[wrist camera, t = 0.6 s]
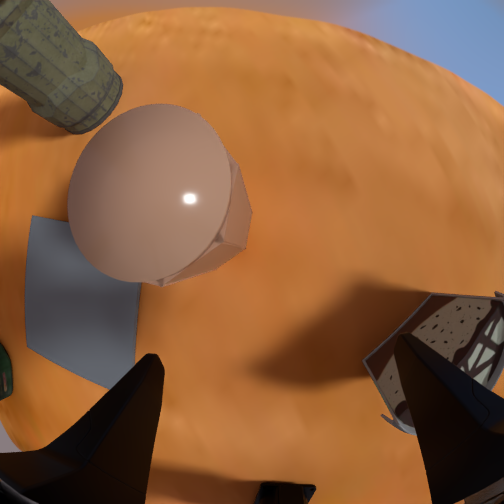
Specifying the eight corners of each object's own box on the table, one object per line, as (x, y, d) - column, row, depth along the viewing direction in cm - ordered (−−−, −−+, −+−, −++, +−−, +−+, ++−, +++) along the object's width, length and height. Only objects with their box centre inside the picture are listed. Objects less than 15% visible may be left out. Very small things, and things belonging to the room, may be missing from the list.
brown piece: (241, 274, 22) (210, 302, 9) (158, 258, 23) (55, 262, 10) (257, 187, 22) (248, 107, 9) (175, 176, 23) (93, 106, 10)
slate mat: (133, 395, 23) (131, 398, 22) (30, 345, 23) (27, 346, 23) (148, 237, 23) (145, 236, 22) (35, 216, 23) (32, 215, 23)
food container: (378, 407, 22) (421, 465, 12) (348, 370, 22) (391, 431, 12) (462, 324, 21) (526, 347, 11) (440, 281, 21) (513, 293, 11)
